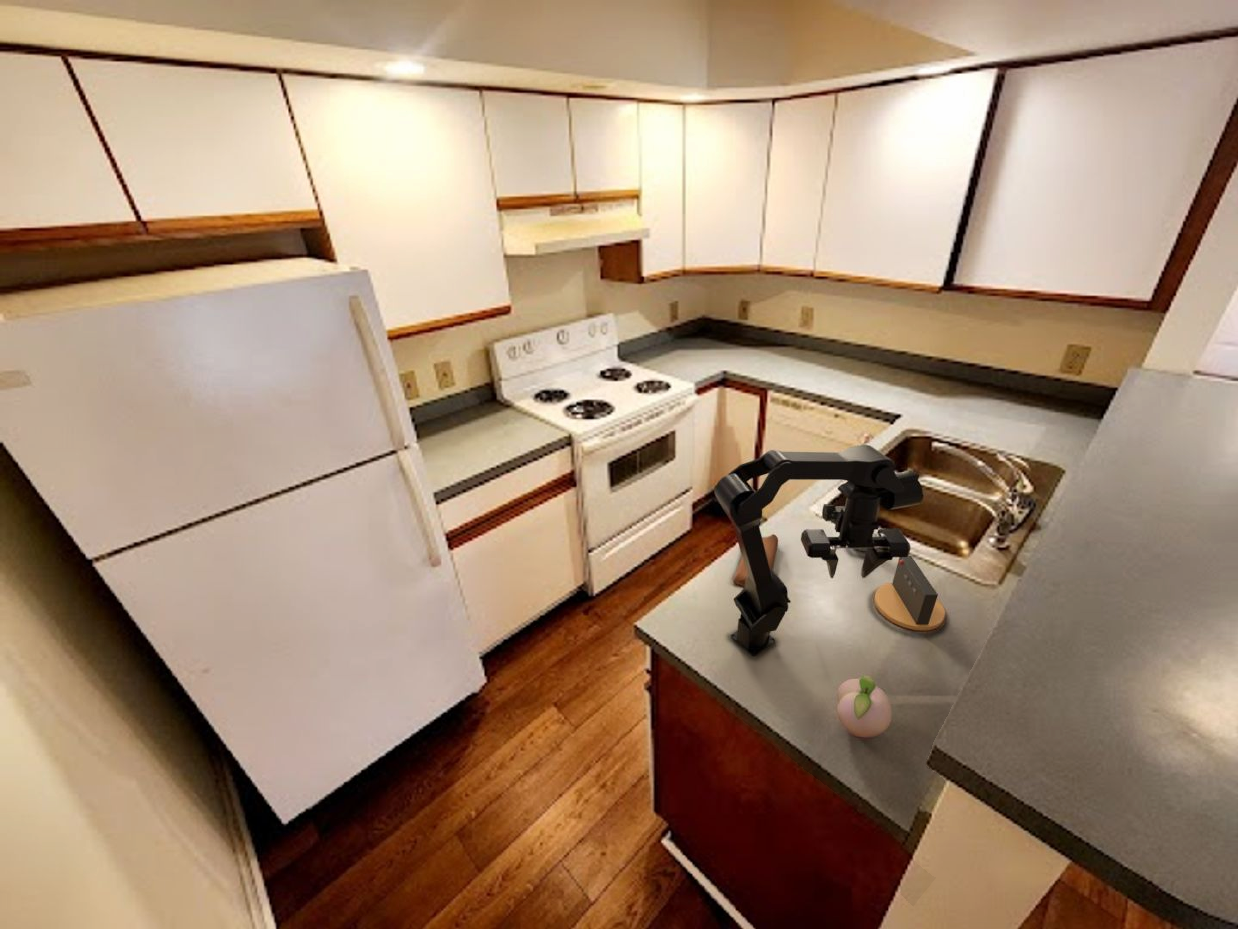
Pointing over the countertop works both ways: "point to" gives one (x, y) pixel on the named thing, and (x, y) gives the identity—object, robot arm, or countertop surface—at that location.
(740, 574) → the sunglasses case
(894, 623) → the turntable base
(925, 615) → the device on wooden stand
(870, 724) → the decorative fruit
